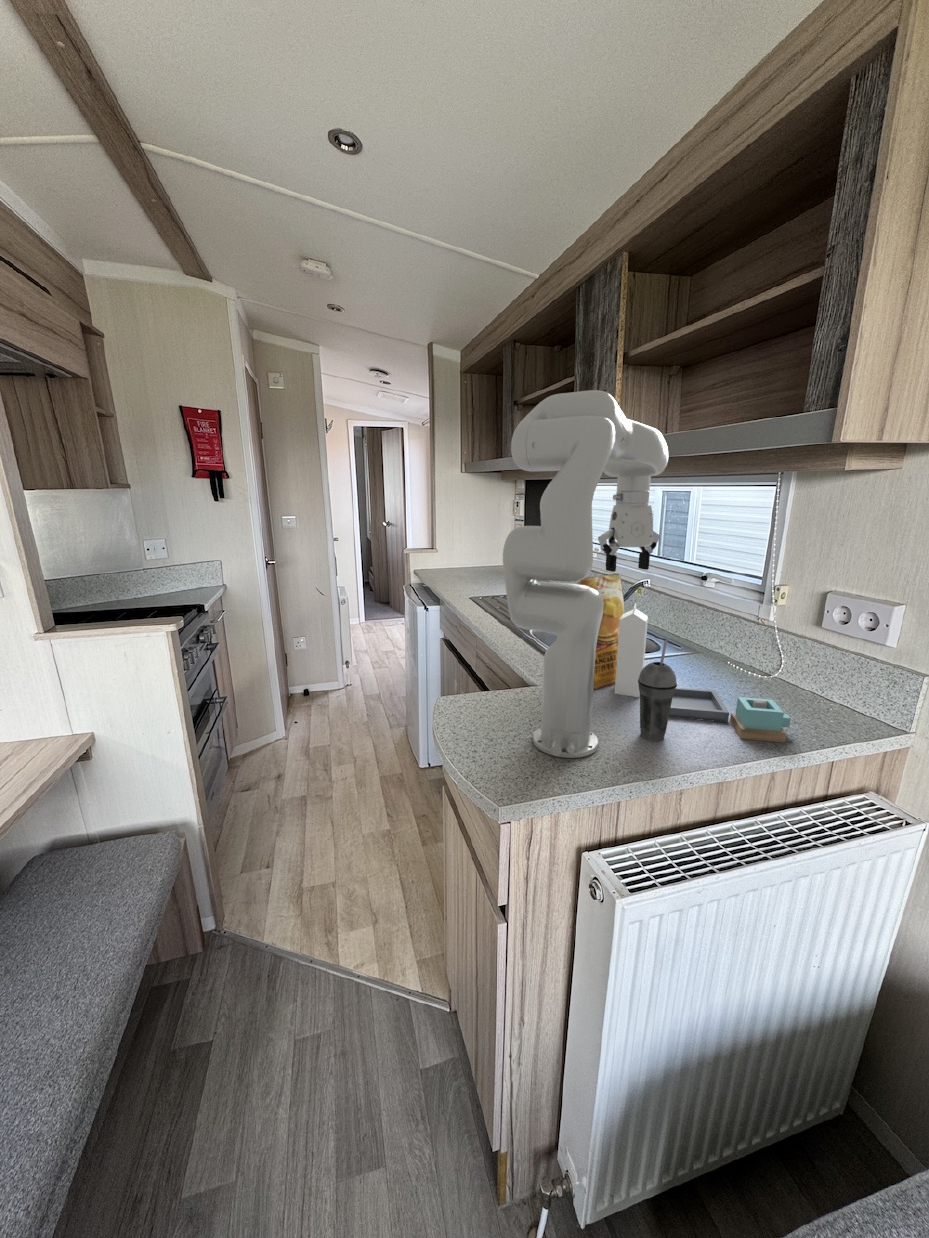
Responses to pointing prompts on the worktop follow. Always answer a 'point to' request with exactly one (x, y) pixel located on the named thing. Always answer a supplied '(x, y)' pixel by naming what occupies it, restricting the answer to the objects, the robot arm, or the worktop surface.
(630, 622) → the milk
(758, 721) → the collar
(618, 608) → the pancake mix bag
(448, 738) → the worktop surface
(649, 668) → the beverage cup
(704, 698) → the tray
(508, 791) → the worktop surface
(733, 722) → the wooden peg base
